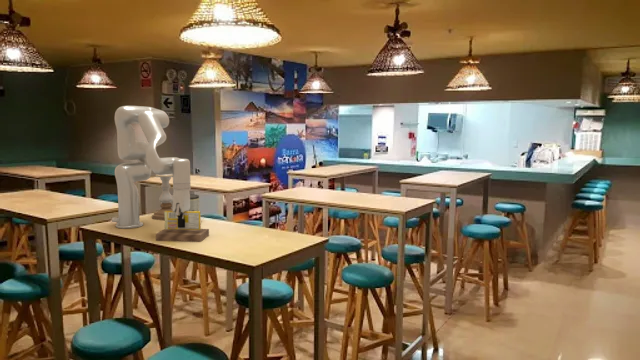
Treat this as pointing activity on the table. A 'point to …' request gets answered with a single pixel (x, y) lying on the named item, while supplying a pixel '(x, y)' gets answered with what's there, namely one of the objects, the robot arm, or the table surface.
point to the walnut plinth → (182, 235)
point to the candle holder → (164, 197)
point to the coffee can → (194, 202)
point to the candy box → (190, 220)
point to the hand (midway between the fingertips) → (182, 226)
